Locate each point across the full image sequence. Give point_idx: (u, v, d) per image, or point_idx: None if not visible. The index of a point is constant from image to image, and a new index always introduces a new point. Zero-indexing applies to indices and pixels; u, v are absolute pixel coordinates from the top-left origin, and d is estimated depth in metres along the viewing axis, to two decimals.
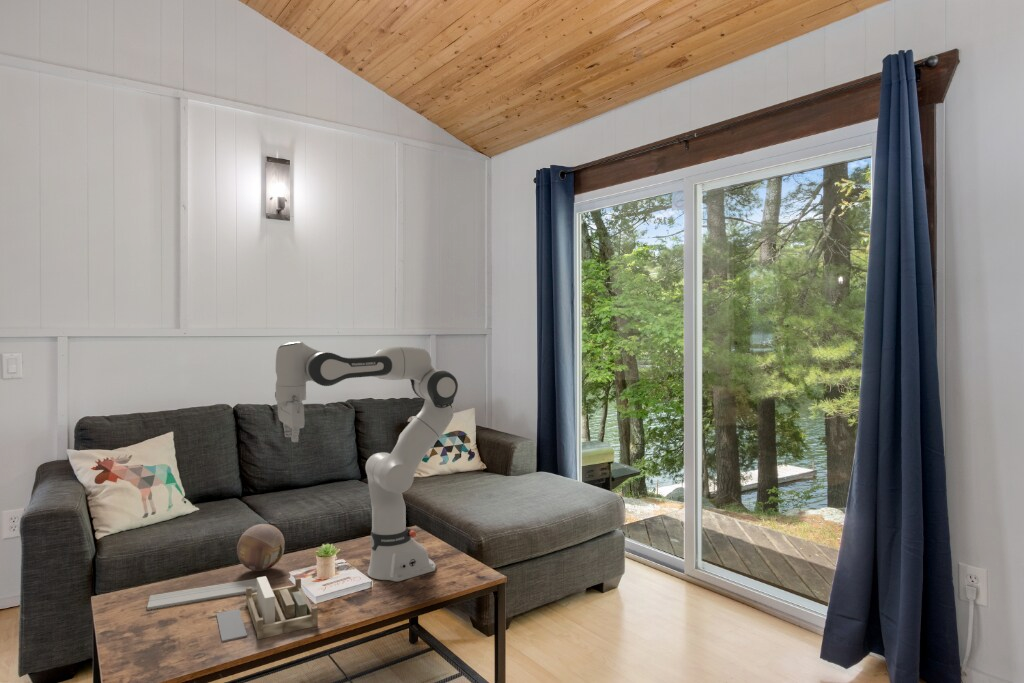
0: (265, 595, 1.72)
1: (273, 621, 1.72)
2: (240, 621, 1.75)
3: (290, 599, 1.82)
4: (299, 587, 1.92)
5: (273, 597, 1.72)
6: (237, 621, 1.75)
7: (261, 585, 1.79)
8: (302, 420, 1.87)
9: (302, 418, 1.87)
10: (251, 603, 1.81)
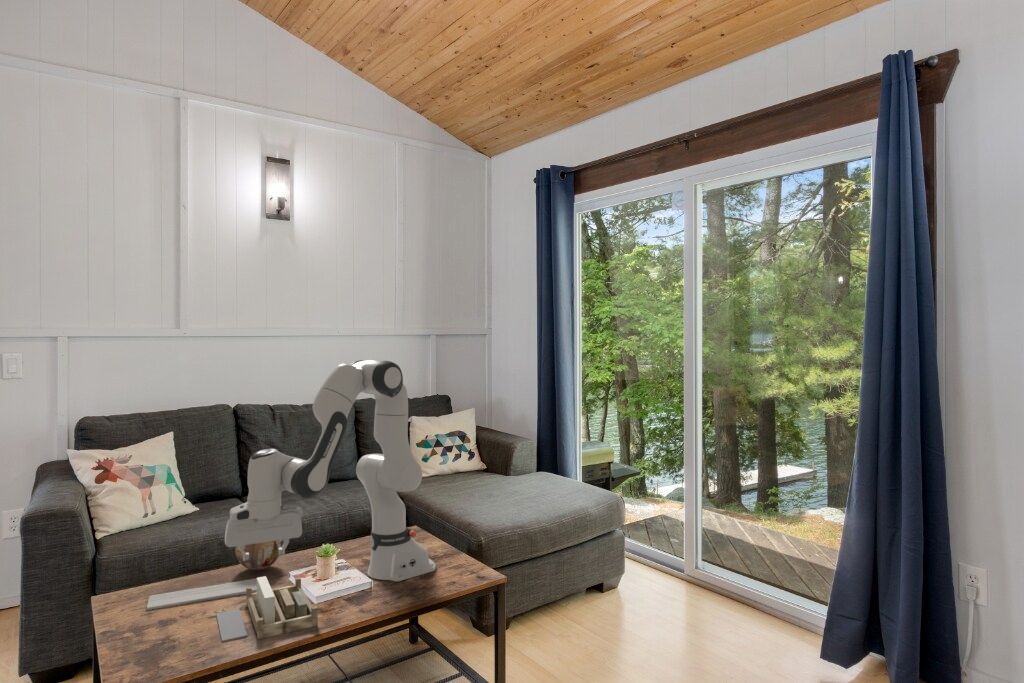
0: (265, 595, 1.72)
1: (273, 621, 1.72)
2: (240, 621, 1.75)
3: (290, 599, 1.82)
4: (299, 587, 1.92)
5: (273, 597, 1.72)
6: (237, 621, 1.75)
7: (261, 585, 1.79)
8: None
9: None
10: (251, 603, 1.81)
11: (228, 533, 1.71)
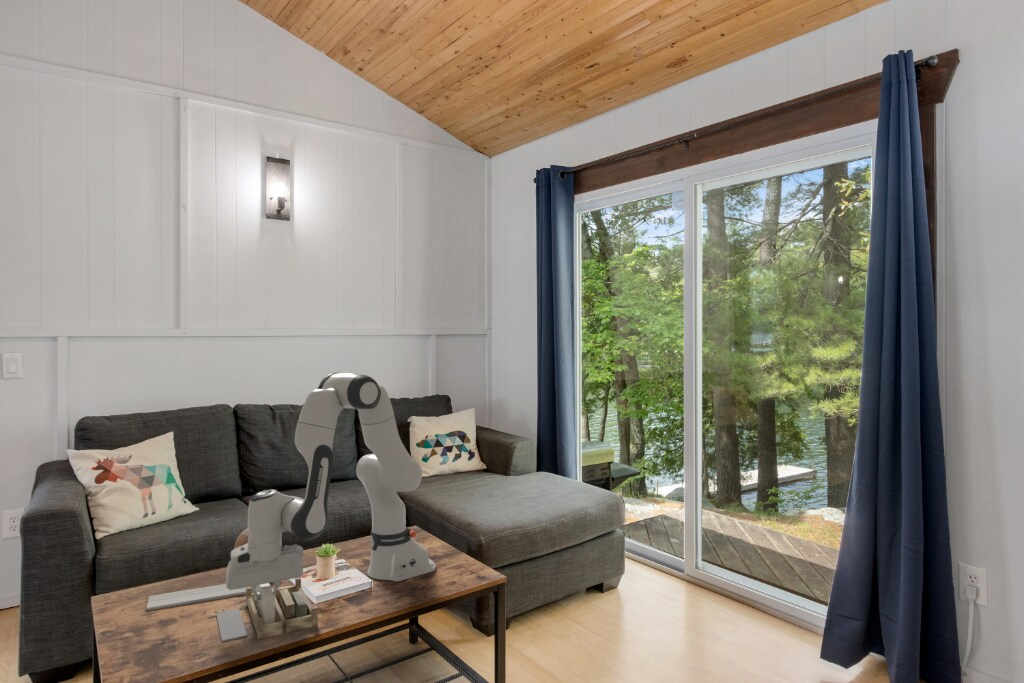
0: (265, 595, 1.72)
1: (273, 621, 1.72)
2: (240, 621, 1.75)
3: (290, 599, 1.82)
4: (299, 587, 1.92)
5: (273, 597, 1.72)
6: (237, 621, 1.75)
7: (261, 585, 1.79)
8: None
9: None
10: (251, 603, 1.81)
11: (229, 576, 1.71)
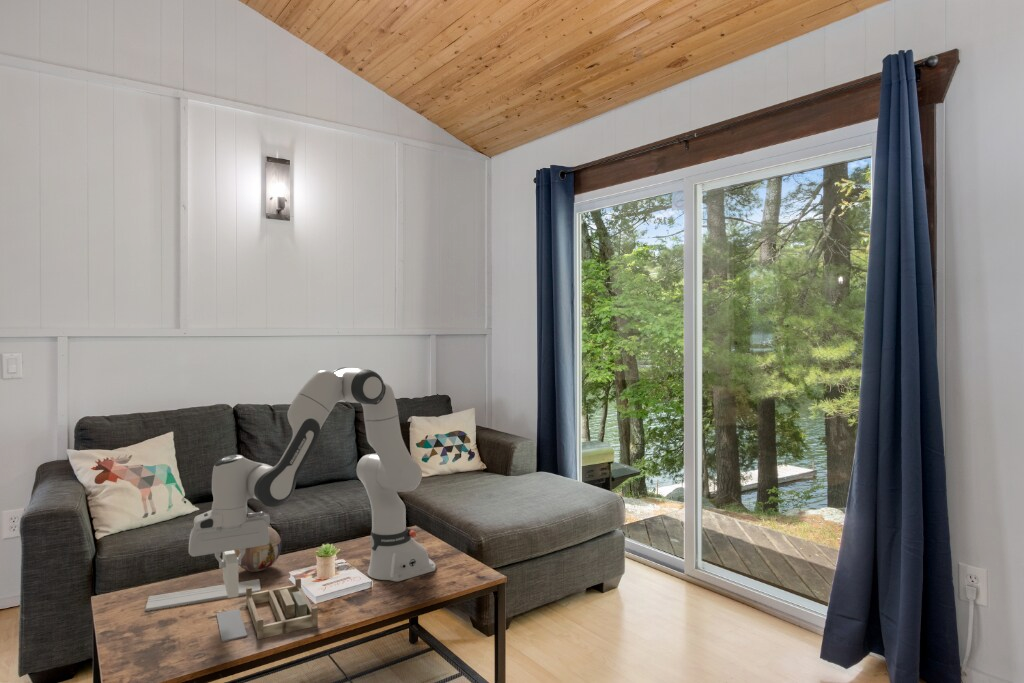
0: (228, 561, 1.68)
1: (236, 588, 1.67)
2: (240, 621, 1.75)
3: (290, 599, 1.82)
4: (299, 587, 1.92)
5: (236, 563, 1.67)
6: (237, 621, 1.75)
7: (226, 552, 1.74)
8: None
9: None
10: (251, 603, 1.81)
11: (191, 542, 1.67)
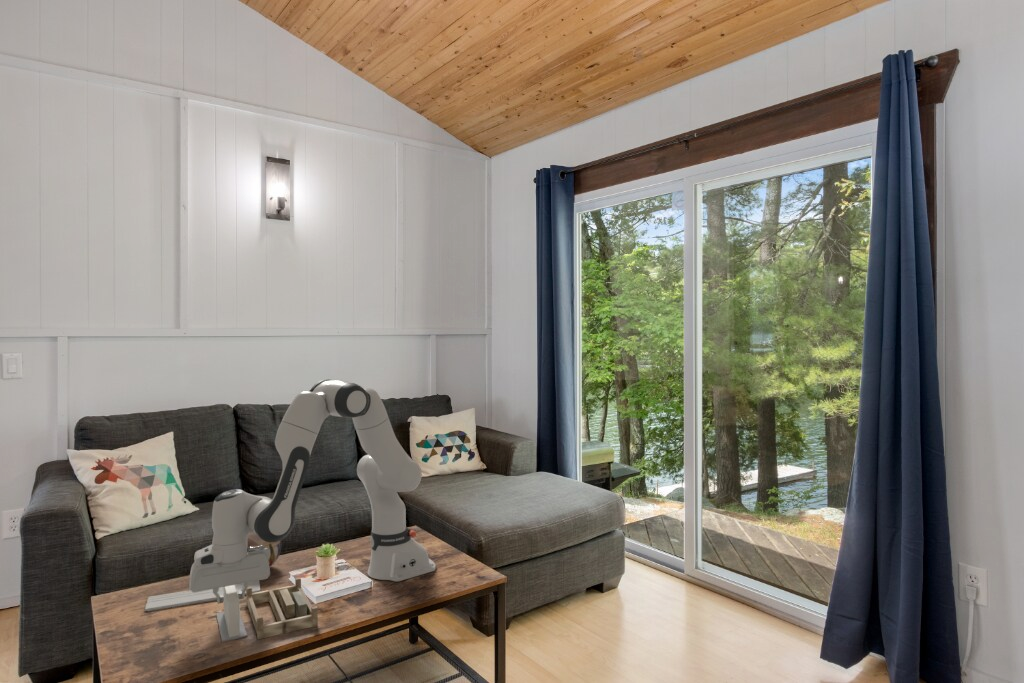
0: (229, 600, 1.68)
1: (238, 627, 1.67)
2: (240, 621, 1.75)
3: (290, 599, 1.82)
4: (299, 587, 1.92)
5: (238, 602, 1.67)
6: None
7: (227, 590, 1.75)
8: None
9: None
10: (251, 603, 1.81)
11: (192, 578, 1.67)
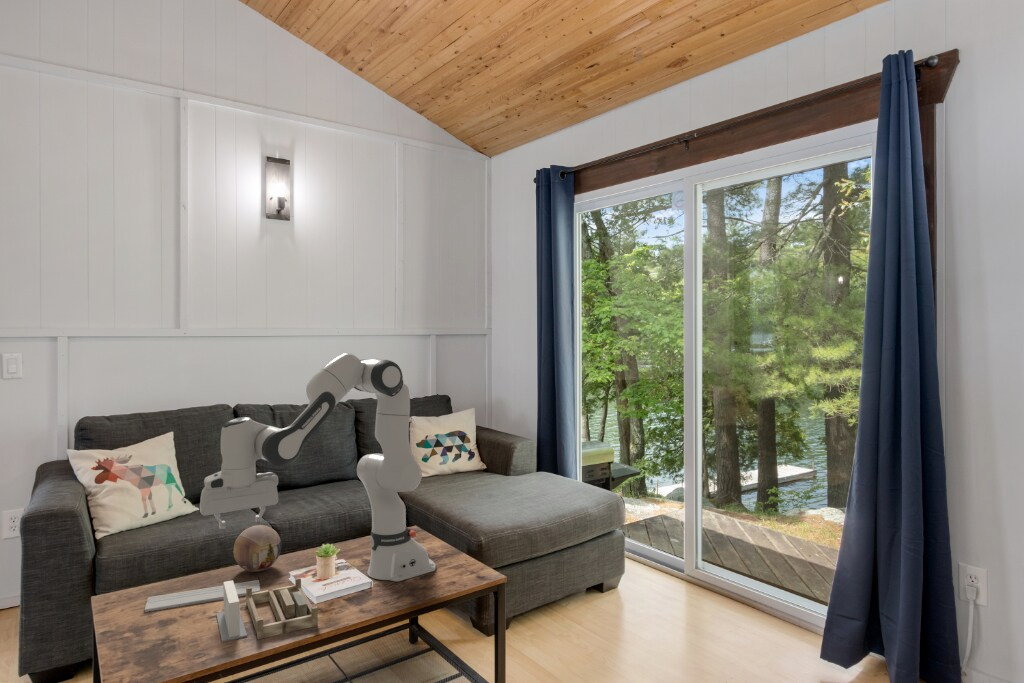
0: (229, 600, 1.68)
1: (238, 627, 1.67)
2: (240, 621, 1.75)
3: (290, 599, 1.82)
4: (299, 587, 1.92)
5: (238, 602, 1.67)
6: None
7: (227, 590, 1.75)
8: None
9: None
10: (251, 603, 1.81)
11: (203, 501, 1.71)
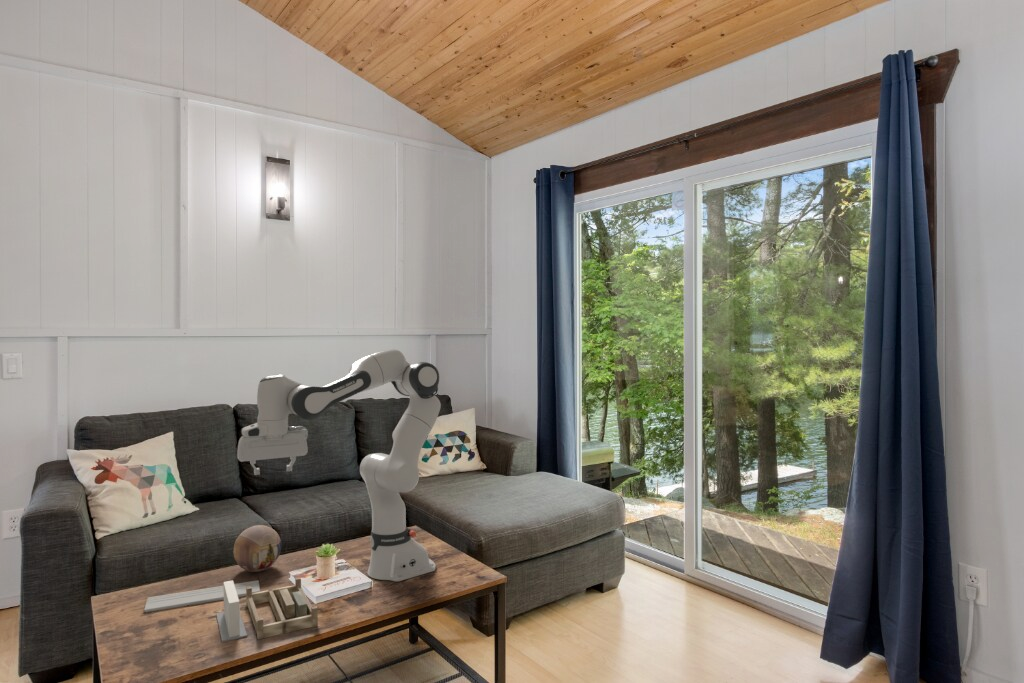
0: (229, 600, 1.68)
1: (238, 627, 1.67)
2: (240, 621, 1.75)
3: (290, 599, 1.82)
4: (299, 587, 1.92)
5: (238, 602, 1.67)
6: None
7: (227, 590, 1.75)
8: None
9: None
10: (251, 603, 1.81)
11: (240, 448, 1.88)
